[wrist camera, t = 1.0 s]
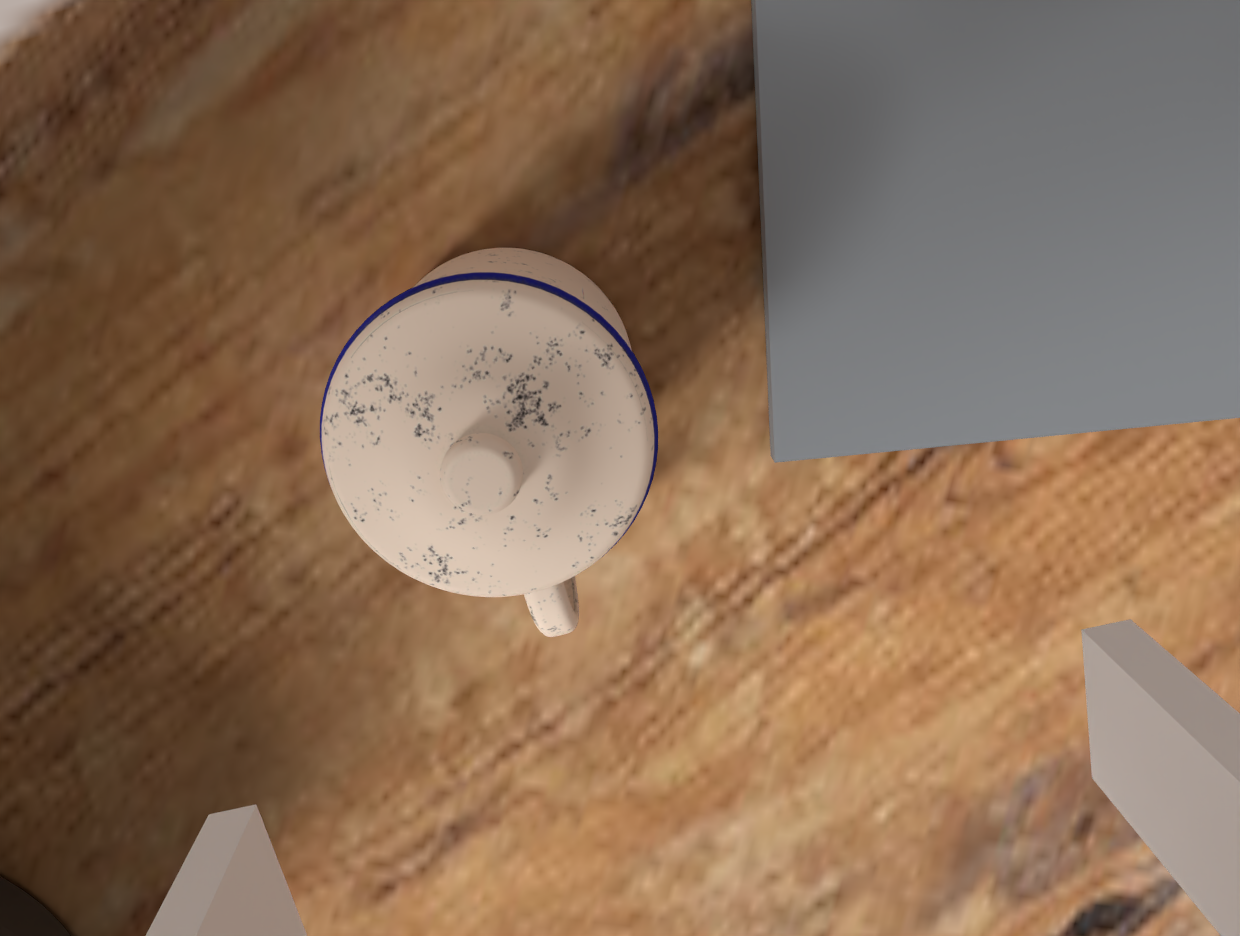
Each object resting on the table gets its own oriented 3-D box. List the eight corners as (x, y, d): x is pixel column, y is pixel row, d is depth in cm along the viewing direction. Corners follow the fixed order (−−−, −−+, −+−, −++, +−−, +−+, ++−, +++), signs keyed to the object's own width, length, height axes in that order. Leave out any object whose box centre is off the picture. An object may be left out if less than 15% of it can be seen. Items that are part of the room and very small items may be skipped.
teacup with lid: (341, 276, 34) (231, 347, 23) (603, 208, 34) (617, 247, 23) (447, 590, 38) (394, 778, 27) (683, 532, 38) (728, 698, 27)
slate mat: (770, 455, 37) (774, 462, 36) (747, -102, 31) (751, -108, 31) (1261, 408, 37) (1276, 413, 36) (1328, -155, 31) (1346, -161, 31)
